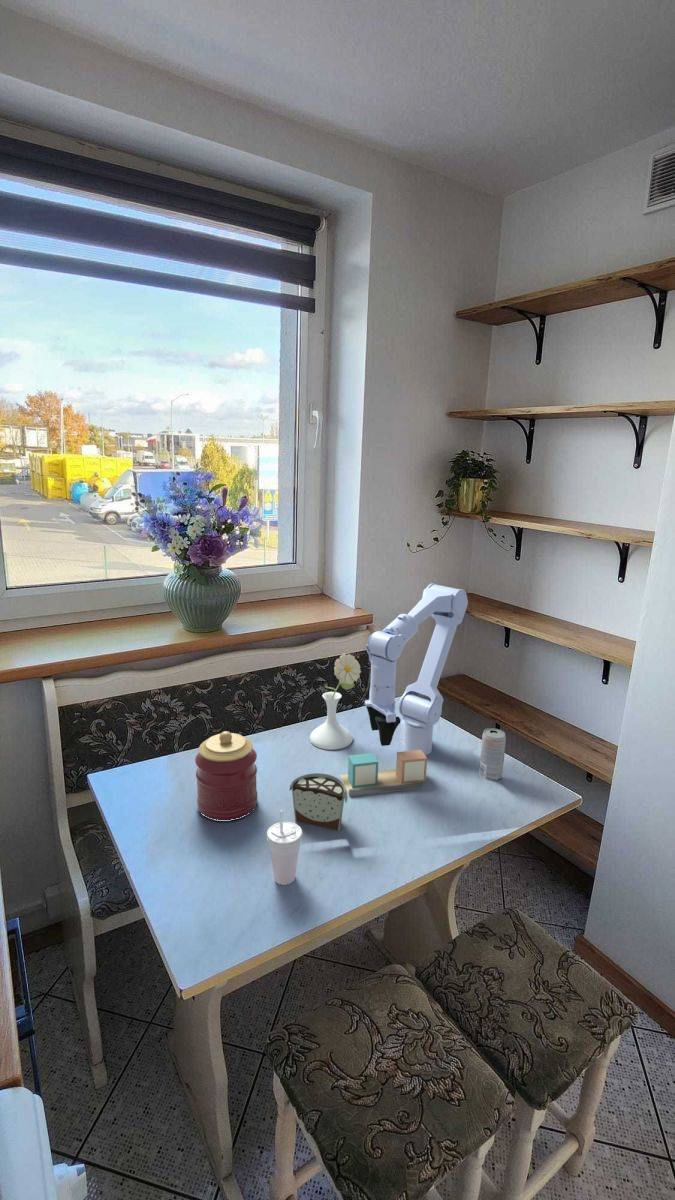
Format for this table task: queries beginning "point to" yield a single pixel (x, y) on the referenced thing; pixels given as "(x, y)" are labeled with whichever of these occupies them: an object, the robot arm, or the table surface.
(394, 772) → the board
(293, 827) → the smoothie
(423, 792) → the table surface
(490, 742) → the energy drink
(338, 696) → the flower in vase
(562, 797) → the table surface
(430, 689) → the robot arm
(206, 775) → the canister
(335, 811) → the food container
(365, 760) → the teal box
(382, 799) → the table surface
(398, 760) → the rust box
